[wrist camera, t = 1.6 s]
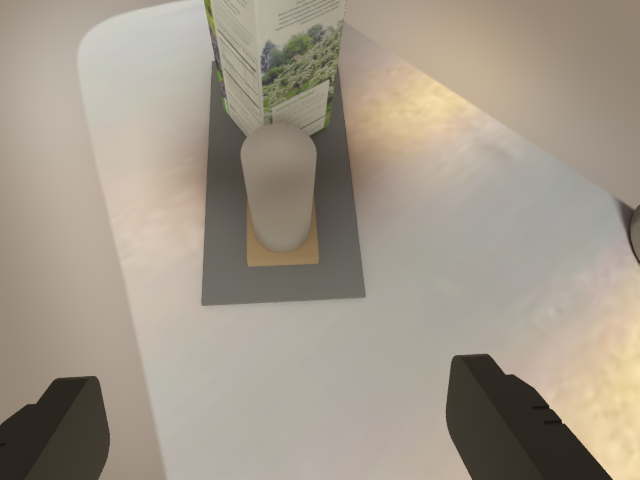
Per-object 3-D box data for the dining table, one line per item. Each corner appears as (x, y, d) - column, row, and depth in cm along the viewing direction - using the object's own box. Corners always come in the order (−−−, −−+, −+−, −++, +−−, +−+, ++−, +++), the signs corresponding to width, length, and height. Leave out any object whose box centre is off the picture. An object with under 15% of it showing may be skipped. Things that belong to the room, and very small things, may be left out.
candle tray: (336, 63, 36) (350, -49, 28) (364, 297, 27) (395, 234, 19) (212, 64, 35) (189, -52, 27) (202, 305, 27) (163, 243, 19)
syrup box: (286, 79, 34) (283, -146, 21) (332, 129, 33) (359, -84, 20) (223, 111, 33) (178, -113, 20) (268, 166, 31) (251, -42, 18)
